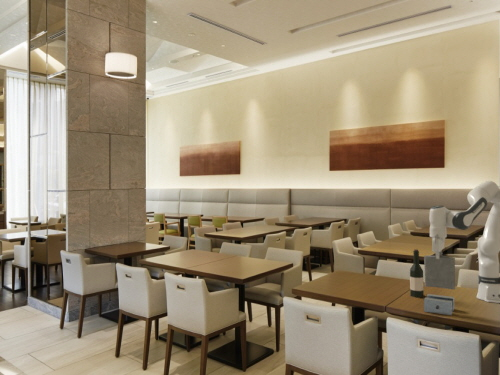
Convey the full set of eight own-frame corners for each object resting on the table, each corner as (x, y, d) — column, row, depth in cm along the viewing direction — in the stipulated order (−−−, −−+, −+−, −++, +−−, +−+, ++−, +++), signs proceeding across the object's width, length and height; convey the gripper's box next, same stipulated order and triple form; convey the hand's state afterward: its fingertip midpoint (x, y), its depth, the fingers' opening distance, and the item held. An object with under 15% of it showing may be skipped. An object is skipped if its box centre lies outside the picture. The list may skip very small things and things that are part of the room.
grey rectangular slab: (424, 286, 233) (423, 251, 232) (425, 284, 236) (425, 250, 236) (454, 289, 224) (454, 253, 224) (455, 288, 227) (455, 252, 227)
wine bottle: (412, 293, 267) (411, 248, 267) (425, 295, 262) (424, 249, 261) (408, 296, 260) (407, 249, 260) (421, 298, 255) (420, 251, 255)
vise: (454, 309, 232) (454, 297, 232) (451, 316, 220) (450, 303, 220) (428, 305, 239) (428, 293, 239) (423, 311, 227) (423, 299, 227)
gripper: (441, 236, 219) (441, 261, 220) (446, 232, 237) (447, 255, 237) (428, 235, 223) (429, 260, 223) (435, 231, 240) (435, 254, 240)
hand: (438, 258), depth 230 cm, fingers closed on grey rectangular slab, 4 cm apart
